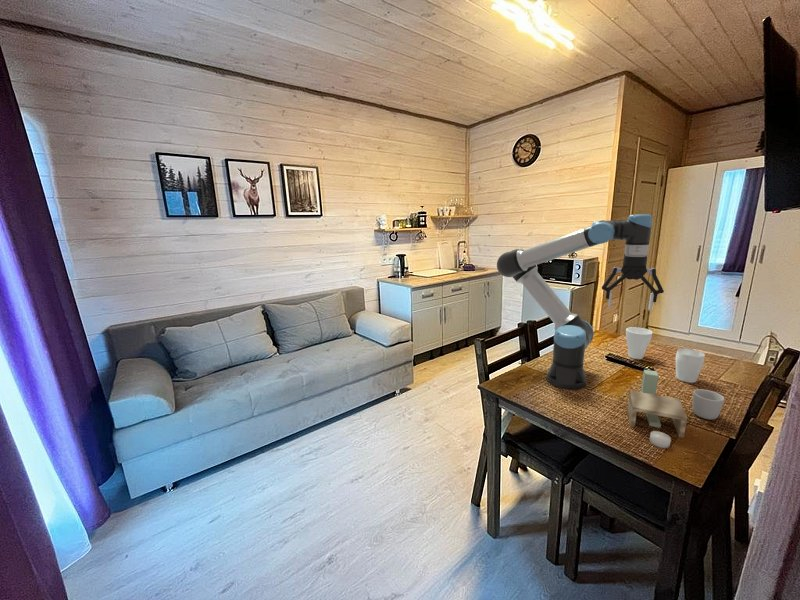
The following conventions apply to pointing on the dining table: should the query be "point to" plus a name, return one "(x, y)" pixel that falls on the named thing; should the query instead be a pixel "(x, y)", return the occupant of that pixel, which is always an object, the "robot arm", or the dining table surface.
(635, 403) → the beige arch
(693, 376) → the cup
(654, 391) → the sage green mallet
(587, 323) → the robot arm
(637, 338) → the cup
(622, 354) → the dining table surface
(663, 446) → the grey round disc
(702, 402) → the cup
